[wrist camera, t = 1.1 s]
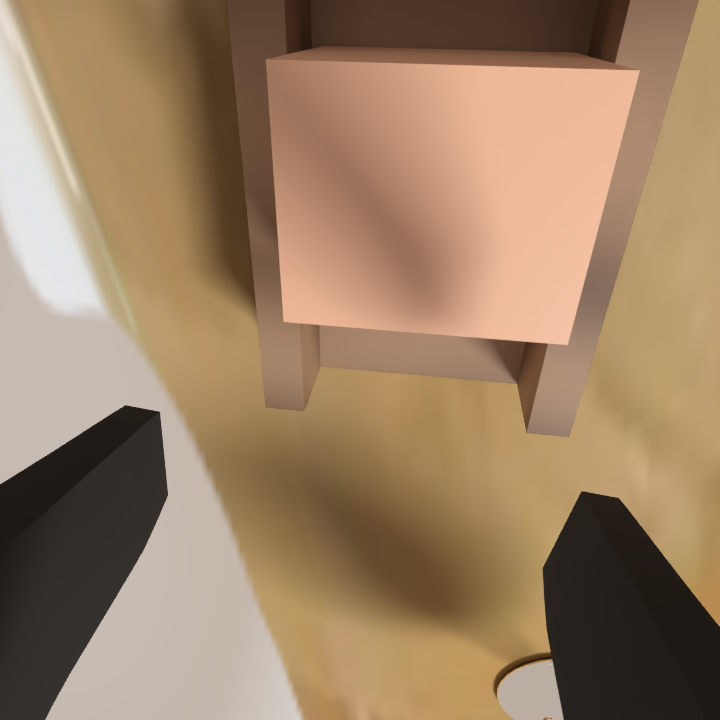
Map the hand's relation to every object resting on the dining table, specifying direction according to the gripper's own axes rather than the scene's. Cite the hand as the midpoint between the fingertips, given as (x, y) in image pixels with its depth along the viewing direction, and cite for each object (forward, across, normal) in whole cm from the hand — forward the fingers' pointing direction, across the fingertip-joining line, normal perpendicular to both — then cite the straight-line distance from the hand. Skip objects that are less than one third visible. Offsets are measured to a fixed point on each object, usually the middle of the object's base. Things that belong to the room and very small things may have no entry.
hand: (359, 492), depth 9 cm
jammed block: (+8, 0, -4) cm, 9 cm away
